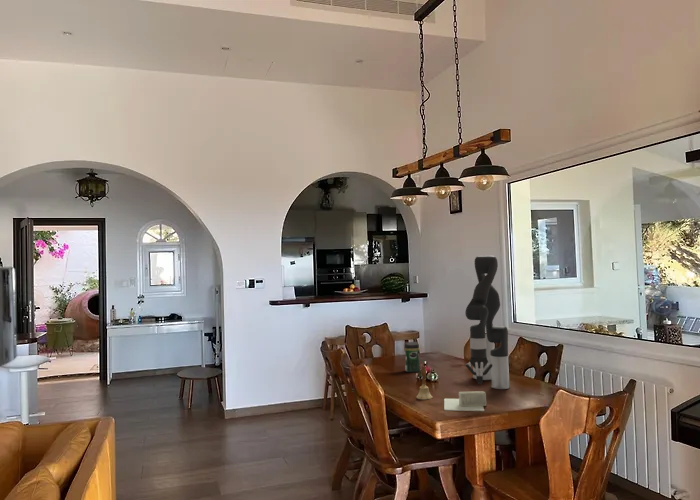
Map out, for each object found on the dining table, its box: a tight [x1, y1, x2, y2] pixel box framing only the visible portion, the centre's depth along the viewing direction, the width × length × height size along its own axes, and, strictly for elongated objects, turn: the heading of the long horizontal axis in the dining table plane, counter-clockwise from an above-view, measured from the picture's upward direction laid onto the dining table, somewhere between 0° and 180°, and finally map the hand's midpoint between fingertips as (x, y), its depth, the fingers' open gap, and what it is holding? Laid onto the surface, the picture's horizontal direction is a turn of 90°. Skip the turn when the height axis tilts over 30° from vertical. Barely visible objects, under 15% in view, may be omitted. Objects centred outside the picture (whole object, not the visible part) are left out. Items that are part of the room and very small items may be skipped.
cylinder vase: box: [472, 333, 495, 381], centre depth 306 cm, size 12×12×25 cm
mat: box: [443, 398, 485, 412], centre depth 249 cm, size 20×18×1 cm
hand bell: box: [415, 365, 433, 401], centre depth 265 cm, size 8×8×16 cm
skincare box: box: [458, 390, 487, 407], centre depth 247 cm, size 6×4×12 cm
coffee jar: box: [403, 341, 421, 373], centre depth 332 cm, size 10×8×19 cm
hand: (479, 383), depth 248 cm, fingers closed
